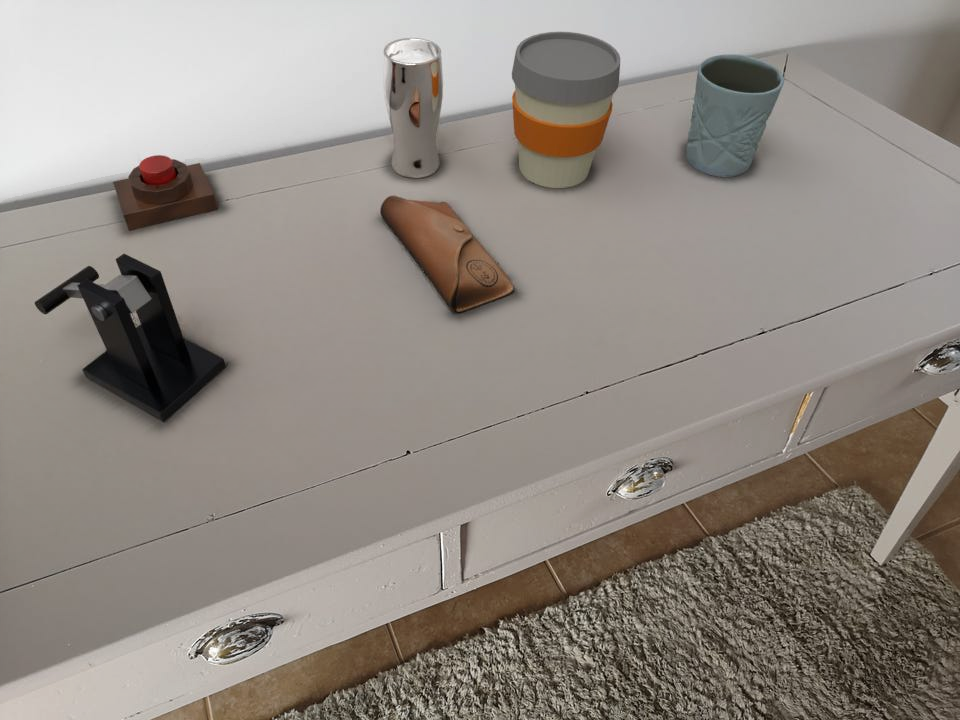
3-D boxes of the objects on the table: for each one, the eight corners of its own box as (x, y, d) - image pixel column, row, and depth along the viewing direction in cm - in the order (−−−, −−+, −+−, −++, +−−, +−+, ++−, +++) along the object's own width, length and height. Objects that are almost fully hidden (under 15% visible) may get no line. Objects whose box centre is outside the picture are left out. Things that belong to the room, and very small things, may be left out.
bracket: (85, 377, 73) (38, 283, 64) (150, 327, 78) (114, 232, 69) (163, 422, 70) (124, 329, 61) (226, 366, 74) (198, 273, 66)
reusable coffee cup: (552, 209, 94) (567, 93, 83) (485, 162, 100) (490, 49, 89) (623, 173, 99) (645, 60, 88) (555, 131, 106) (568, 21, 95)
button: (146, 189, 87) (142, 175, 86) (140, 172, 89) (136, 159, 88) (179, 181, 88) (175, 168, 87) (172, 165, 91) (168, 152, 89)
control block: (129, 230, 88) (118, 201, 85) (118, 197, 92) (107, 168, 89) (217, 209, 91) (210, 180, 88) (203, 178, 95) (196, 149, 92)
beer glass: (453, 170, 98) (454, 55, 87) (405, 186, 96) (401, 70, 85) (424, 144, 102) (422, 31, 91) (378, 159, 99) (370, 45, 88)
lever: (44, 318, 71) (28, 297, 70) (96, 282, 75) (82, 261, 74) (114, 327, 64) (97, 303, 63) (168, 286, 68) (154, 263, 67)
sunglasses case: (521, 287, 83) (496, 255, 77) (471, 330, 83) (443, 300, 78) (443, 198, 93) (416, 164, 88) (399, 236, 94) (369, 204, 88)
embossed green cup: (768, 177, 100) (799, 90, 91) (695, 184, 98) (720, 96, 90) (734, 135, 107) (760, 50, 98) (665, 141, 105) (686, 56, 96)
